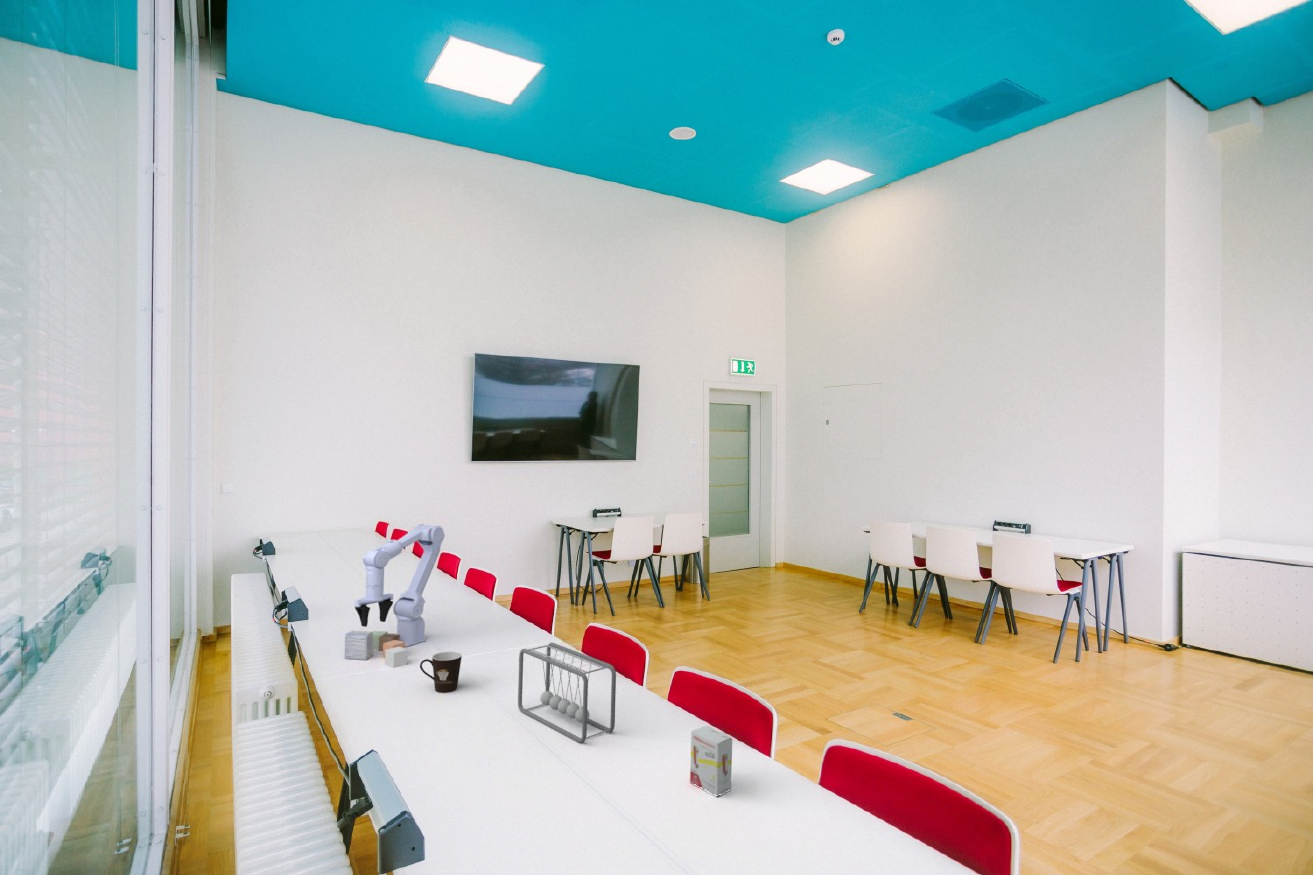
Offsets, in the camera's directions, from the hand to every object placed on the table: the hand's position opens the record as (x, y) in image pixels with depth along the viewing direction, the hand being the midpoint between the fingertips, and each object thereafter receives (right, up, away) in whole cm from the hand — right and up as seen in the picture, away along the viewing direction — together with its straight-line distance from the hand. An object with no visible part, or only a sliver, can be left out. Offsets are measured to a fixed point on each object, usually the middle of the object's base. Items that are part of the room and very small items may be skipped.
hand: (373, 623), depth 238 cm
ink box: (+111, -13, -87) cm, 141 cm away
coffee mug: (+34, -11, -31) cm, 48 cm away
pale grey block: (+12, -11, -11) cm, 19 cm away
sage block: (-2, -11, +8) cm, 13 cm away
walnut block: (+3, -11, +5) cm, 12 cm away
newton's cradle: (+74, -12, -54) cm, 92 cm away
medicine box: (-3, -11, -5) cm, 12 cm away
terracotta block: (+8, -11, -3) cm, 14 cm away
